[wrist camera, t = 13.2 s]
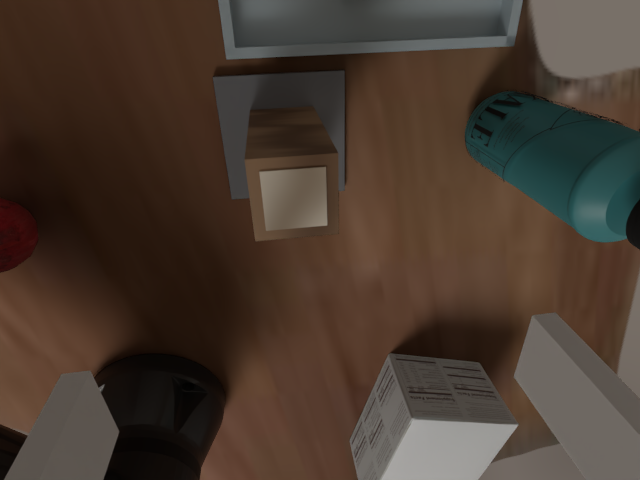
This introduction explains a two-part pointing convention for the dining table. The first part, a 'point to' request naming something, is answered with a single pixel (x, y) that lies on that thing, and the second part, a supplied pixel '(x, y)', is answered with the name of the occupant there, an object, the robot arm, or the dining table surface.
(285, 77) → the slate coaster
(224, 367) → the dining table surface
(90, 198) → the dining table surface
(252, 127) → the walnut box
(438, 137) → the dining table surface
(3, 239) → the onion
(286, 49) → the bin
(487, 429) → the supplement box
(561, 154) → the beverage bottle
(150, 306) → the dining table surface
